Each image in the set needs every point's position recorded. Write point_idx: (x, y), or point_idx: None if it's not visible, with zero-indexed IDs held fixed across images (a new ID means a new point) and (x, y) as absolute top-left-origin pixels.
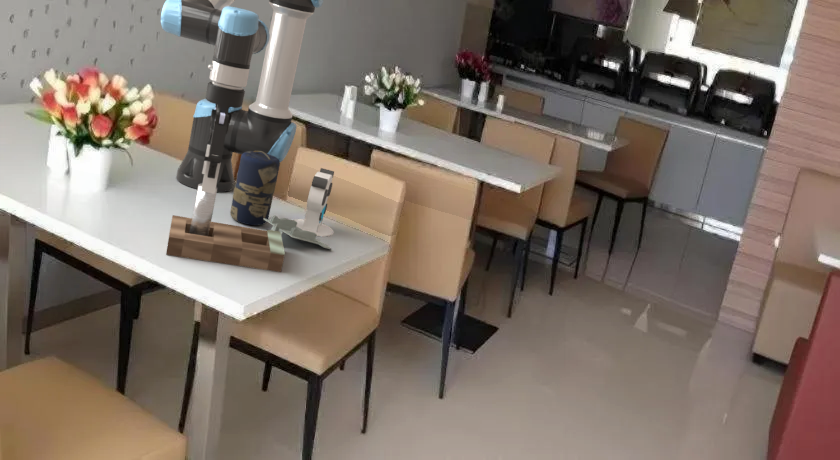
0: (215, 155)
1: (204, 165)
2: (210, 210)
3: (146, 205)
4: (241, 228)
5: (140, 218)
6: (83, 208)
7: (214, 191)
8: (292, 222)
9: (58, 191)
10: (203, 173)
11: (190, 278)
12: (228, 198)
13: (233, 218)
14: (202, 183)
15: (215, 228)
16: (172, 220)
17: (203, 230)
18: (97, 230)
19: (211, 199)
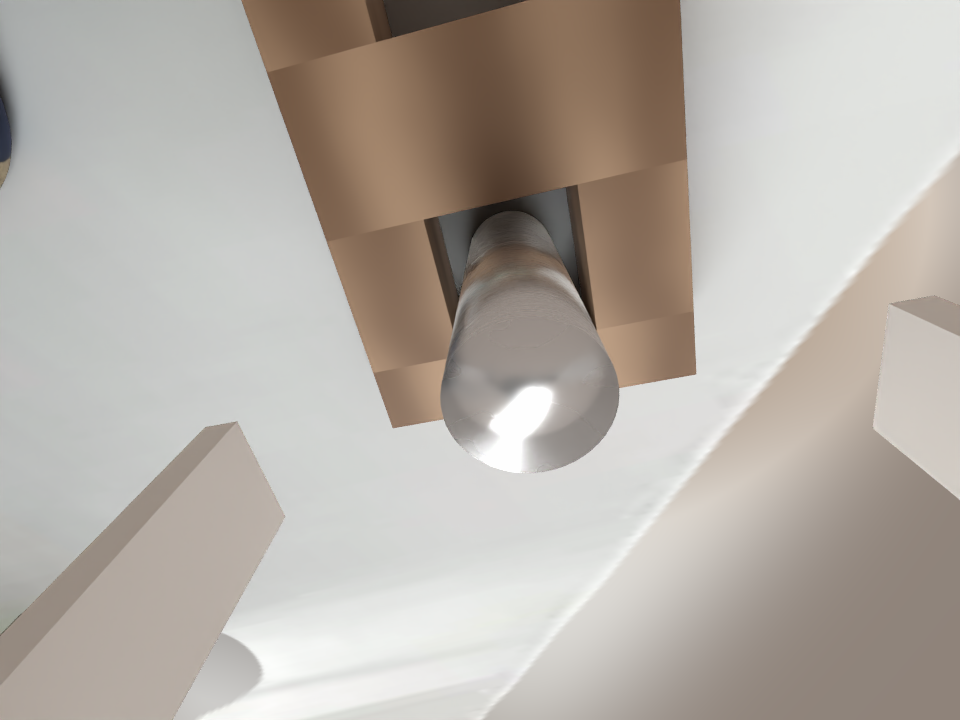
0: (95, 647)
1: (244, 580)
2: (559, 272)
3: None
4: (299, 58)
5: (346, 497)
6: (396, 628)
7: (955, 309)
8: None
9: (314, 696)
10: (279, 511)
11: (901, 185)
12: None
13: (2, 182)
14: (934, 474)
15: (424, 209)
16: None
17: (558, 254)
18: (557, 560)
19: (578, 307)
